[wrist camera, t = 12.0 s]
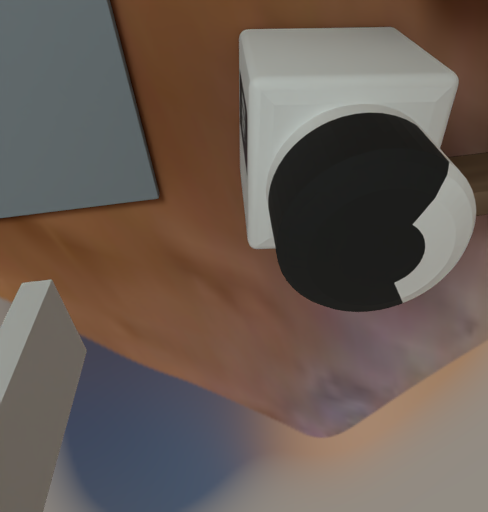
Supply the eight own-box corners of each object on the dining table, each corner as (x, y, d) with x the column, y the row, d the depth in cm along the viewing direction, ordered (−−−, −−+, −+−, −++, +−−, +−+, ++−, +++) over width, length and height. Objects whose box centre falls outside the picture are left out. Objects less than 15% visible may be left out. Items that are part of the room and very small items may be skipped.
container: (239, 171, 27) (257, 342, 17) (238, 27, 22) (263, 144, 12) (369, 167, 27) (465, 332, 17) (396, 25, 22) (551, 136, 12)
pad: (-135, 14, 21) (-143, 17, 20) (105, -18, 21) (102, -16, 20) (-22, 215, 28) (-26, 221, 27) (159, 193, 27) (158, 198, 27)
